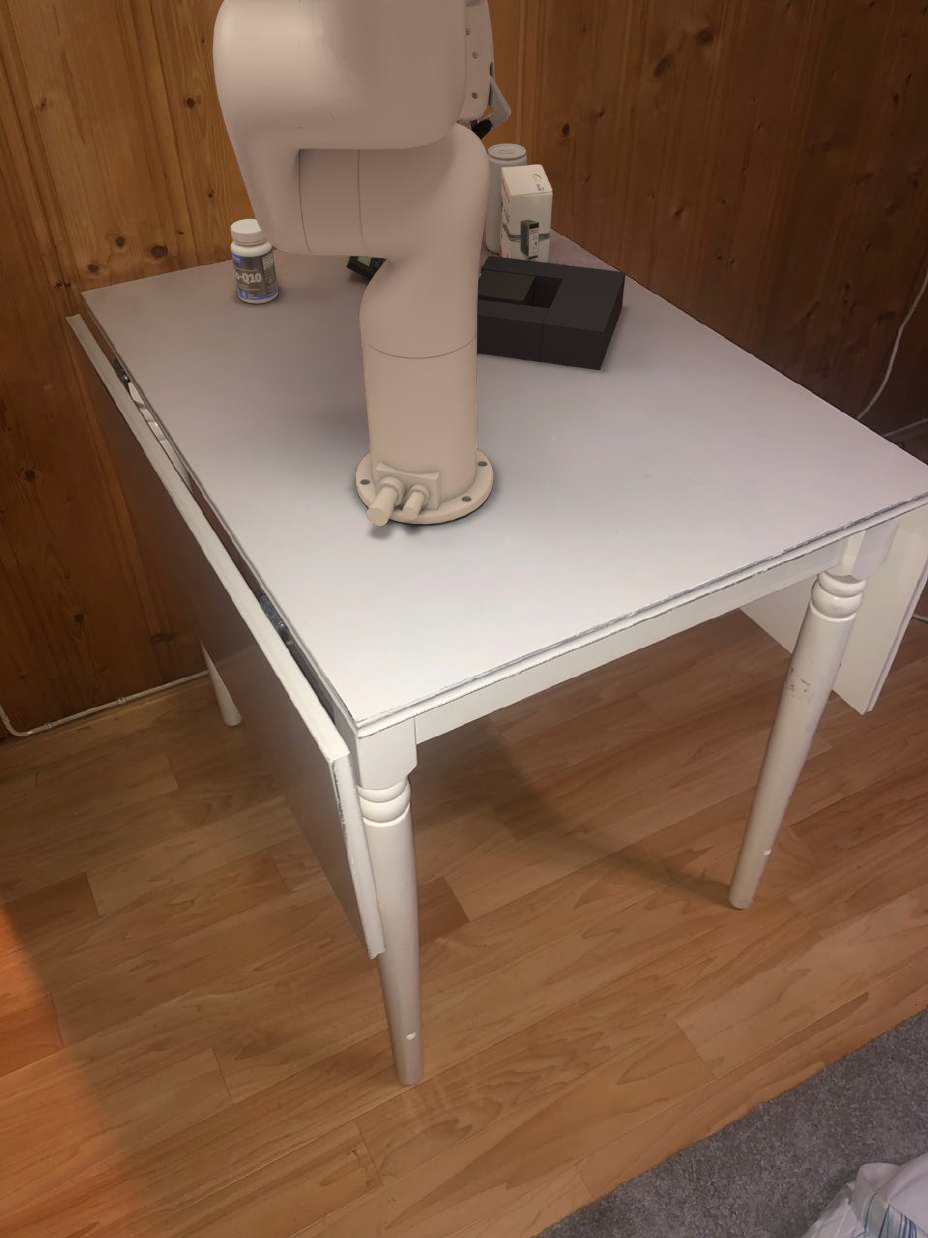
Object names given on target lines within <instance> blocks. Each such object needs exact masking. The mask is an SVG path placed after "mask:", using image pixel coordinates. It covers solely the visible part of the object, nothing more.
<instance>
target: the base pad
mask: <svg viewBox="0 0 928 1238" xmlns="http://www.w3.org/2000/svg"><path fill="white" fill-rule="evenodd" d="M484 270H490V271H498V272H506V273H514V274H522V275H530V276H535V296H534V306H526V305H519V304H511V303H503V302H495V301H488V300H480V299H477V354H483V355H491V356H497V357H504V358H513V359H518V360H525V361H532V362H533V361H534V362H538V363H539V362H541V363H548V364H555V365H563V366H568V367H569V366H570V367H576V368H584V369H591V370H592V369H593V370H597V371H600V370H601V368H602V366H603V363H604V360H605V358H606V354H607V352H608V348H609V345H610V343H611V341H612V337H613V335H614V332H615V329H616V326H617V324H618V320H619V317H620V315H621V312H622V309H623V301H624V293H625V284H626V274H627V272H626V271H619V270H610V269H602V268H594V267H587V266H586V267H585V266H577V265H569V264H563V263H555V262H553V263H552V262H548V263H545V262H537V261H529V260H520V259H512V258H504V257H500V256H494V255H488V256H487V258H486V259H485V261H484V263H483V264H482V266H481V268H480V275H481V274H482V272H483V271H484Z"/></svg>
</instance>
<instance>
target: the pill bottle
mask: <svg viewBox="0 0 928 1238" xmlns="http://www.w3.org/2000/svg"><path fill="white" fill-rule="evenodd" d="M230 232H231V233H230V235H231V239H232V242H231V243H230V254H231V260H232V266H233V272H234V277H235V283H236V290H237V291H236V292H237V295H238V298H239V299H240V300H241V301H243V302H244V303H248V304H253V305H254V304H257V305H258V304H259V305H260V304H265V303H269V302H272V300H274V299H275V298H277V296H278V294H279V287H278V281H277V279H278V278H277V273H276V265H275V264H276V263H275V258H274V257H275V256H274V250H273V245H271V244H270V243H269V242H268V240H267V239H266V238H265V236H264V235H263V233H262V231H261V229H260V227H259V225H258V222H257V220H256V218H244V219H240V220H237V221H234V222H233V223H232V224H231V225H230Z"/></svg>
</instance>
